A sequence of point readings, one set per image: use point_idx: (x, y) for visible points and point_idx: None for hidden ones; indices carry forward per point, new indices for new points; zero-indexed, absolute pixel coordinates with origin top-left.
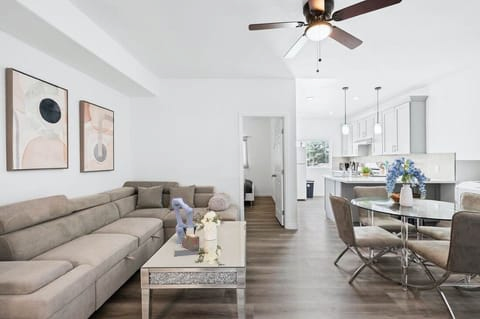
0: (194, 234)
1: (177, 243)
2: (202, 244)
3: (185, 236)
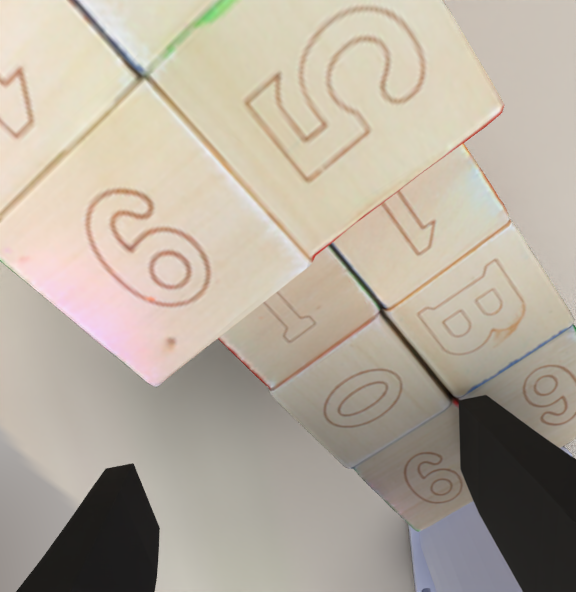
0: (93, 490)
1: (565, 448)
2: (9, 381)
3: None
